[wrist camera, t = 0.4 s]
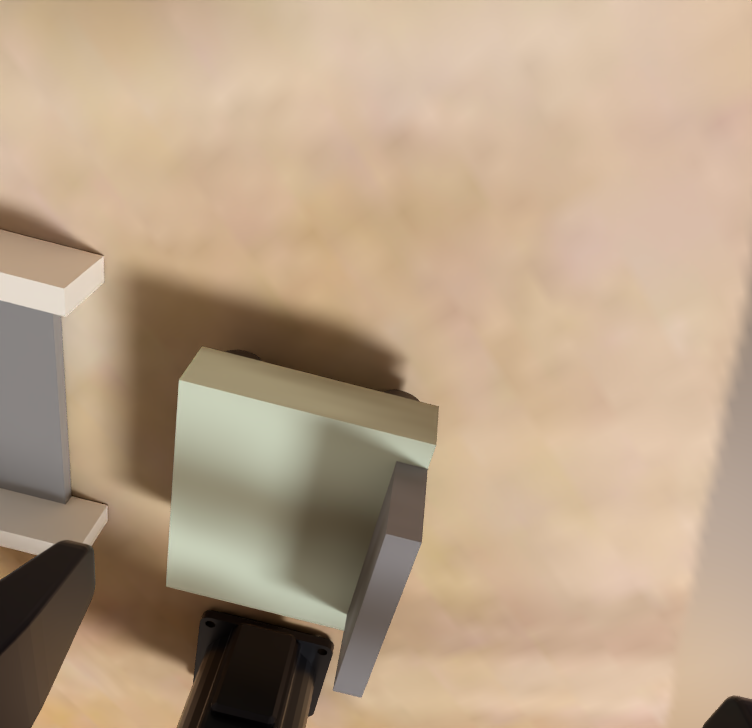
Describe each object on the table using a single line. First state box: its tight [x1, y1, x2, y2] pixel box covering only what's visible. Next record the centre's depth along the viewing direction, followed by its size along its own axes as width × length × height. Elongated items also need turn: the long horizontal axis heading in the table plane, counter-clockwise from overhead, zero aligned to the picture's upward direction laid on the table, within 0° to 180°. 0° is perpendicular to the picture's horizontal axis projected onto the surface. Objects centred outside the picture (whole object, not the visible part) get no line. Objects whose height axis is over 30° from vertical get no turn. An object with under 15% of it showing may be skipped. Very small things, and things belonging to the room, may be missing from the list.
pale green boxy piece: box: [166, 346, 439, 697], centre depth 22 cm, size 10×8×6 cm
